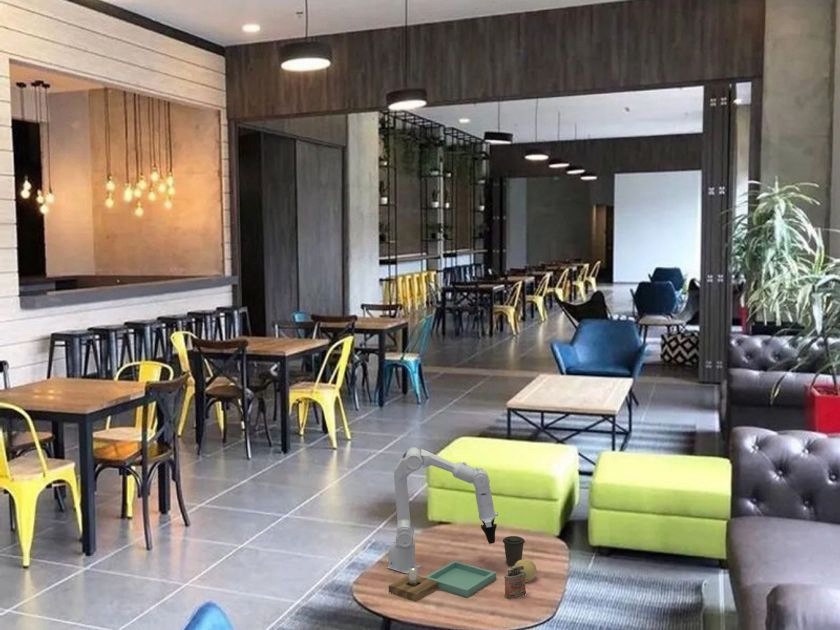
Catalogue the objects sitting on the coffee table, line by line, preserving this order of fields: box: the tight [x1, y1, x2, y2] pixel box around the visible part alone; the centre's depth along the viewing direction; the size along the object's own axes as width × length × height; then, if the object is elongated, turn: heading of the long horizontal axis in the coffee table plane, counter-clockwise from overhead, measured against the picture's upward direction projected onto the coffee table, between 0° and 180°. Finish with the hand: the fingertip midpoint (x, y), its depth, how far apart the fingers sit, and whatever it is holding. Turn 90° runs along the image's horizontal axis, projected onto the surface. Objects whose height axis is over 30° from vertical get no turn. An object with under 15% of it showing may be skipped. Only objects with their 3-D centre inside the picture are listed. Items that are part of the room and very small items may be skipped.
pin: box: [408, 566, 419, 587], centre depth 279 cm, size 3×3×8 cm
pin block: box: [388, 574, 439, 602], centre depth 279 cm, size 12×12×2 cm
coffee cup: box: [502, 535, 526, 568], centre depth 299 cm, size 8×8×10 cm
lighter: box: [503, 565, 527, 600], centre depth 274 cm, size 8×3×10 cm, turn 117°
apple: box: [514, 558, 537, 583], centre depth 286 cm, size 8×8×8 cm
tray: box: [423, 560, 497, 599], centre depth 285 cm, size 18×18×3 cm
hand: (491, 539), depth 297 cm, fingers open, 7 cm apart
